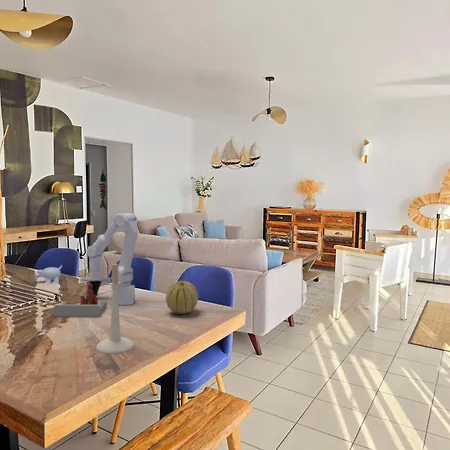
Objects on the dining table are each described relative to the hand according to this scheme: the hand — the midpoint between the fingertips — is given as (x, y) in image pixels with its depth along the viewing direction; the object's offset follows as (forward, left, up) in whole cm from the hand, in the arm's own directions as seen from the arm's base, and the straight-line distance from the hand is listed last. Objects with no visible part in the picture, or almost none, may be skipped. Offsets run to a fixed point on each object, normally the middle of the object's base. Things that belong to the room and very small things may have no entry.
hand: (95, 295), depth 207 cm
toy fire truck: (0, +11, -2) cm, 11 cm away
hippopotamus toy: (+37, -36, -2) cm, 52 cm away
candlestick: (-24, +63, -2) cm, 68 cm away
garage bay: (0, +23, -1) cm, 23 cm away
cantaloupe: (-45, +23, -2) cm, 51 cm away
